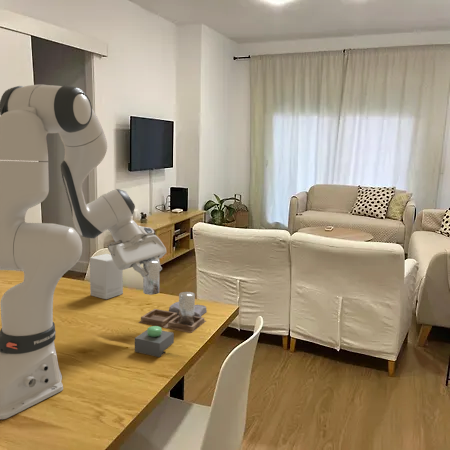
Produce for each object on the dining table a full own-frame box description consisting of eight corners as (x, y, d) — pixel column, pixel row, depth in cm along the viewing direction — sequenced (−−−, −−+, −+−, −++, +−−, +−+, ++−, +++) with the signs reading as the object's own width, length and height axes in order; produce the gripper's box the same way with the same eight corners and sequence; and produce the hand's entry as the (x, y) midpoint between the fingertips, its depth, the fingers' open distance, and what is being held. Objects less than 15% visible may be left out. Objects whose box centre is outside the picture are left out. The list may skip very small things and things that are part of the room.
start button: (156, 349, 126) (157, 332, 126) (144, 346, 128) (144, 330, 127) (164, 344, 130) (164, 327, 129) (152, 341, 131) (152, 325, 131)
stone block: (178, 313, 163) (166, 317, 153) (180, 300, 163) (167, 303, 153) (209, 319, 159) (198, 323, 149) (210, 305, 159) (200, 309, 149)
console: (159, 357, 124) (159, 343, 123) (134, 351, 127) (134, 338, 126) (173, 345, 131) (173, 332, 131) (149, 340, 134) (149, 328, 134)
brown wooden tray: (191, 336, 138) (191, 328, 138) (138, 325, 145) (138, 318, 145) (206, 323, 149) (206, 316, 148) (156, 314, 156) (156, 307, 155)
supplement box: (123, 294, 176) (123, 256, 173) (106, 300, 168) (105, 261, 166) (107, 289, 180) (106, 253, 178) (89, 295, 173) (88, 257, 170)
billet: (154, 295, 140) (154, 264, 138) (140, 293, 141) (140, 262, 139) (162, 290, 144) (162, 260, 143) (148, 288, 146) (148, 258, 144)
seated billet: (189, 328, 142) (190, 297, 140) (175, 325, 144) (176, 295, 142) (196, 322, 146) (197, 293, 145) (183, 320, 148) (183, 290, 147)
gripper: (110, 237, 134) (135, 275, 131) (155, 227, 151) (178, 260, 148) (100, 250, 138) (124, 287, 134) (145, 238, 155) (167, 271, 151)
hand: (153, 273), depth 141 cm, fingers closed on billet, 5 cm apart
